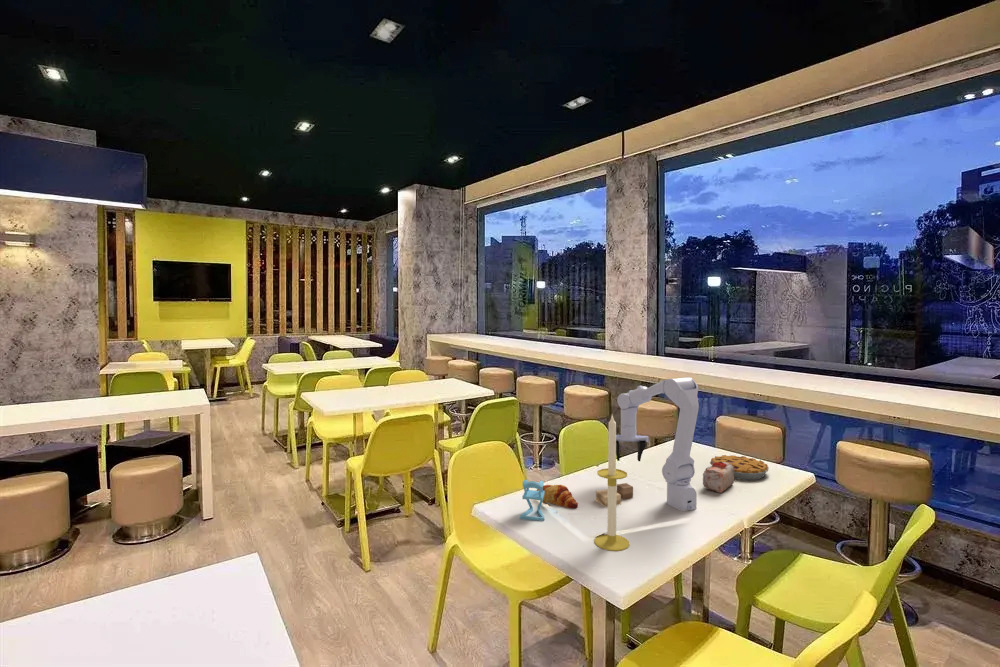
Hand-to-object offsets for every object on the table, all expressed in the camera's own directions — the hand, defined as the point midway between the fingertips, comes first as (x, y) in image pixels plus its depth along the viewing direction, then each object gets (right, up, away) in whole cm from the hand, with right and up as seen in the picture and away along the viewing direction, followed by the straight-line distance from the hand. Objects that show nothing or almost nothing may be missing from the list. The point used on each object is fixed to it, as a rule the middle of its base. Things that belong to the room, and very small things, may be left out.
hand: (628, 460), depth 189 cm
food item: (+34, -10, -1) cm, 35 cm away
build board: (-9, -11, -17) cm, 22 cm away
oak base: (-12, -10, -18) cm, 23 cm away
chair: (-38, -12, -25) cm, 47 cm away
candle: (-16, -13, -45) cm, 49 cm away
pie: (+49, -9, +17) cm, 53 cm away
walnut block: (-5, -10, -13) cm, 17 cm away
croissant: (-29, -11, -14) cm, 34 cm away
